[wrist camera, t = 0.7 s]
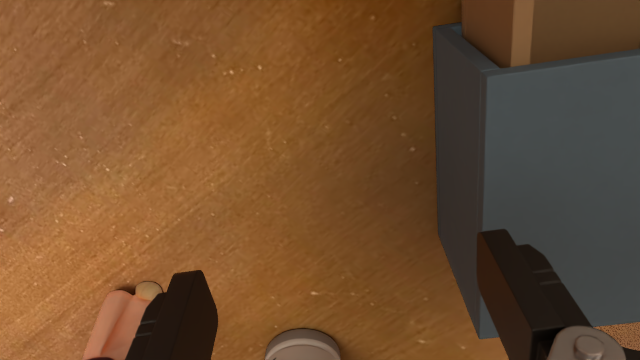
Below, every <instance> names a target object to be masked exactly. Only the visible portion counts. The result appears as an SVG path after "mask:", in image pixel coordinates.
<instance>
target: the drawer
mask: <svg viewBox="0 0 640 360" xmlns="http://www.w3.org/2000/svg"><path fill="white" fill-rule="evenodd" d="M462 38H464V39H465V40H466V41H467V42H468V43H470V44H471V45H472V46H473V47H475V48H476V49H477V50H478V51H480V52H481V53H482V54H483V55H484V56H486V57H487V58H488V59H489V60H491V61H492V62H493V63H494V64H495V65H497V66H498V67H499V68H500V69H501V68H508V67H515V66H522V65H529V64H536V63H543V62H550V61H557V60H564V59H571V58H578V57H585V56H592V55H599V54H606V53H613V52H620V51H627V50H634V49H640V0H462Z"/></svg>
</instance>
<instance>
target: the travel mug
mask: <svg viewBox="0 0 640 360" xmlns="http://www.w3.org/2000/svg"><path fill="white" fill-rule="evenodd" d="M265 360H340V351H339V348H338V346H337V344H336V343H335V342H334V341H333V340H332V339H331V338H330V337H329V336H327V335H326V334H324V333H321V332H319V331H315V330H310V329H295V330H290V331H287V332H284V333H282V334H280V335H278V336H277V337H275V338H274V339H273V340H272V341H271V342H270V343H269V345H268V347H267V349H266V354H265Z"/></svg>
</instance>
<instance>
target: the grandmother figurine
mask: <svg viewBox="0 0 640 360" xmlns="http://www.w3.org/2000/svg"><path fill="white" fill-rule="evenodd" d="M135 293H136V294H135V295H133V296H132V295H131V294H129V293H128V292H126V291H123V290H116V291H111V292H110V293H108V294H107V296H106V298H105V300H104V302H103V304H102V307H101V309H100V312H99V315H98V317H97V320H96V322H95V325H94V328H93V331H92V334H91V336H90V339H89V341H88V344H87V347H86V350H85V352H84V355H83V359H82V360H125V358H126V356H127V353H128V351H129V348H130V346H131V343H132V341H133V338H135V333H136V331H137V329H138V326H139V325H140V321H141V319H142V316H143V314H144V311H145V309H146V307H147V306H148V305H149V304H150V302H151V301H152V300H153V299H154V298H155V297H156V295H157V294H158V293H162V289H161V287H160V286H159V285H158V284H156V283H154V282H142V283H140V284H138V285H137V286H136V289H135Z"/></svg>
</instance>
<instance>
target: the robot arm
mask: <svg viewBox="0 0 640 360" xmlns="http://www.w3.org/2000/svg"><path fill="white" fill-rule="evenodd" d="M476 275H477V282H478V287H479V290H480V293H481V296H482V298H483V301H484V303H485V305H486V307H487V310H488V312H489V314H490V317H491V319H492V321H493V323H494V326H495V328H496V330H497V332H498V335H499V337H500V339H501V342H502V344H503V346H504V348H505V351H506V353H507V355H508V357H509V360H640V351H637V350H632V349H628V348H625V347H622V346H621V345H620V344H619V343H618V342H617V341H616V340H615V339H614V338H613V337H611V336H610V335H608V334H607V333H605V332H603V331H601V330H598V329H596V328H593V327H592V325H591V324H590V322H589V321H588V319H587V318H586V316H585V315H584V313H583V312H582V311H581V309H580V308H579V306H578V305H577V303H576V302H575V300H574V299H573V297H572V296H571V294H570V293H569V291H568V290H567V288H566V287H565V285H564V284H563V283H562V282H561V279H560V278H559V276H558V275H557V273H556V272H554V269H553V267H552V266H551V264H550V263H549V261H548V260H547V258H546V257H545V255H544V254H542V253H541V252H539V251H538V250H536V249H535V248H534V247H532V246H531V245H529V244H524V245H516V244H515V242H514V240H513V239H512V237H511V235H510V234H509V232H508V231H507V230H506V229H498V230H490V231H483V232H478V234H477V260H476ZM217 327H218V314H217V309H216V305H215V303H214V300H213V297H212V295H211V292H210V290H209V287H208V284H207V282H206V279H205V276H204V274H203V272H202V271H201V270H196V271H189V272H181V273H175V274H174V275H173V277H172V279H171V282H170V284H169V287H168V290H167V292H165V293H158V294H157V295H156V297H155V298H154V299H153V300H152V301H151V302H150V304H149V305H148V306H147V307H146V309H145V311H144V314H143V316H142V319H141V321H140V325H139V326H138V329H137V331H136V333H135V338H133V341H132V343H131V346H130V348H129V351H128V353H127V356H126V358H125V360H211V355H212V351H213V346H214V342H215V337H216V332H217Z"/></svg>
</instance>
